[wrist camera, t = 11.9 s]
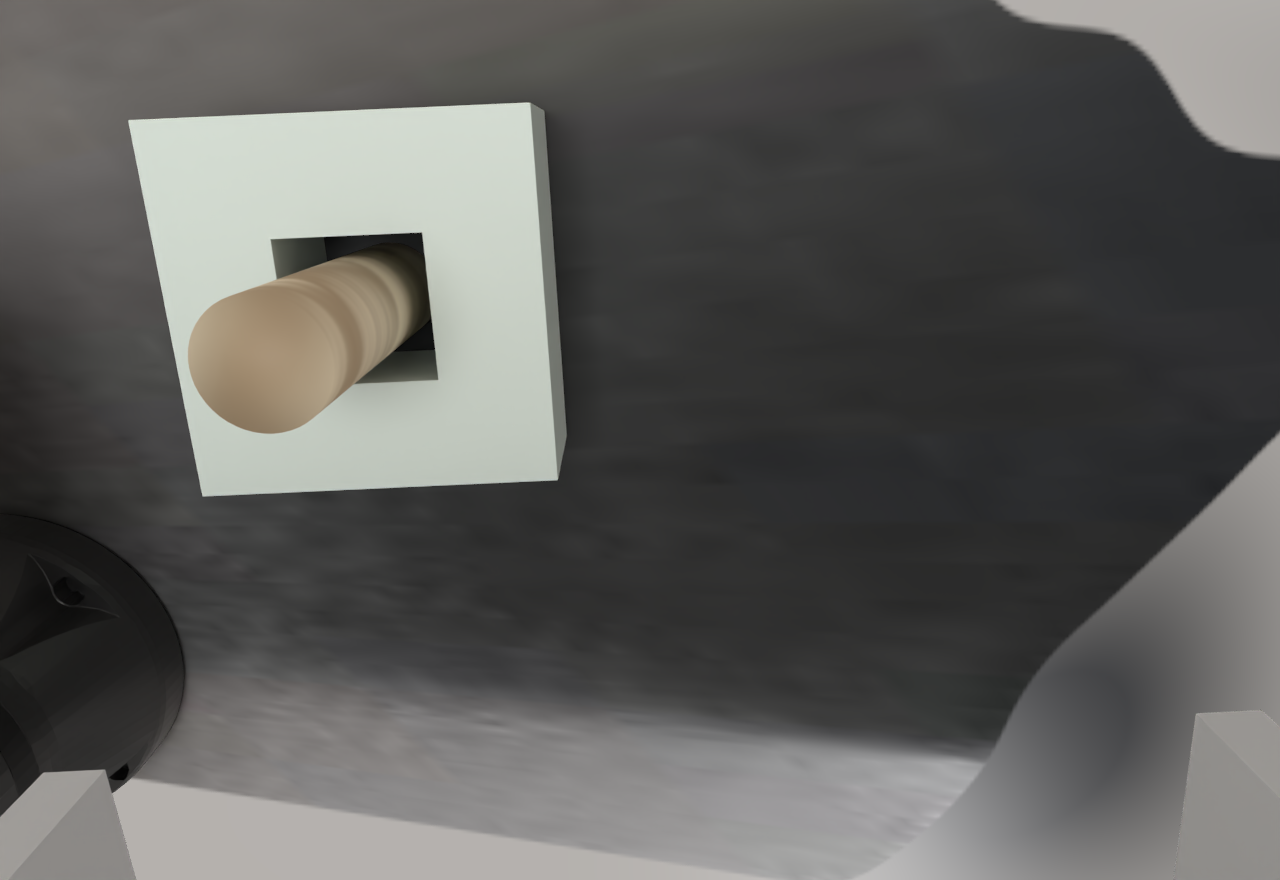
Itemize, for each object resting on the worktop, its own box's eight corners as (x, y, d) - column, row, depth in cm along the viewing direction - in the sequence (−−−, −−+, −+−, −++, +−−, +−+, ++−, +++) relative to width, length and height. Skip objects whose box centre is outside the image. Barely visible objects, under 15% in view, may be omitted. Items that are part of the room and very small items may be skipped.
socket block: (260, 449, 42) (202, 496, 36) (203, 125, 37) (128, 120, 32) (566, 435, 42) (557, 480, 36) (544, 110, 38) (530, 102, 32)
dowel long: (353, 336, 40) (202, 436, 26) (341, 244, 39) (175, 295, 25) (444, 332, 40) (343, 430, 26) (434, 240, 39) (322, 289, 25)
